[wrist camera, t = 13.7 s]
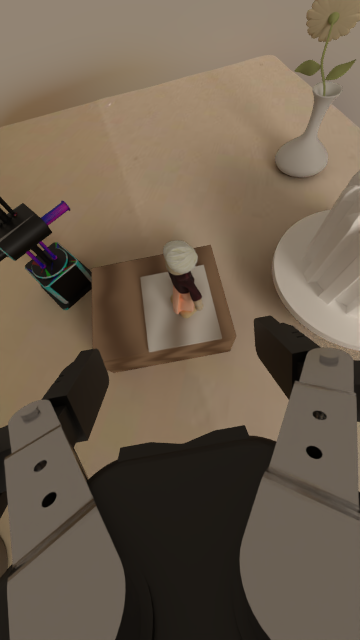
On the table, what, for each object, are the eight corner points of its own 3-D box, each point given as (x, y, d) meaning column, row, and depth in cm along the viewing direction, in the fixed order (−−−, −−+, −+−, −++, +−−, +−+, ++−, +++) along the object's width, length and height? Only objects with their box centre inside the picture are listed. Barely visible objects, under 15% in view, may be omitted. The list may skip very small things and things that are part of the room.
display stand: (113, 372, 39) (90, 362, 31) (109, 292, 45) (89, 266, 37) (229, 351, 38) (236, 334, 30) (209, 272, 44) (210, 242, 37)
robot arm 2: (85, 248, 50) (-11, 112, 27) (112, 270, 47) (28, 138, 24) (-13, 329, 44) (-236, 242, 22) (9, 360, 41) (-221, 296, 19)
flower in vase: (332, 160, 53) (431, -34, 30) (310, 189, 50) (400, 0, 27) (281, 143, 57) (333, -40, 34) (257, 169, 54) (298, -10, 31)
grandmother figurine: (158, 298, 33) (135, 236, 22) (178, 282, 34) (165, 214, 23) (194, 334, 31) (188, 285, 19) (214, 316, 32) (221, 259, 20)
